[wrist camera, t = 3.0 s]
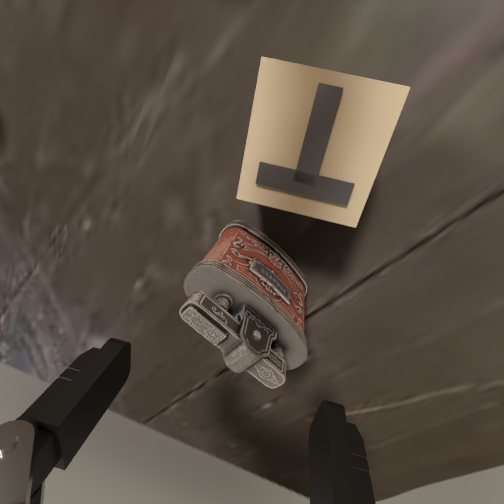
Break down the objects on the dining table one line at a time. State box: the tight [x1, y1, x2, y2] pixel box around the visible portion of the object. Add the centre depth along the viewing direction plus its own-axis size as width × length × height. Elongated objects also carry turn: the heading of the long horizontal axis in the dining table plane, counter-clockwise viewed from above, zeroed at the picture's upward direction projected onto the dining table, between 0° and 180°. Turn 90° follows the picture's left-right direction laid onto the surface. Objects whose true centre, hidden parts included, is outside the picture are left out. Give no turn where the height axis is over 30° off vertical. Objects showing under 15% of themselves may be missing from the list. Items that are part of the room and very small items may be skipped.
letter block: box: [236, 57, 410, 228], centre depth 15 cm, size 6×6×6 cm
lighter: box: [179, 220, 307, 388], centre depth 17 cm, size 8×3×10 cm, turn 48°
